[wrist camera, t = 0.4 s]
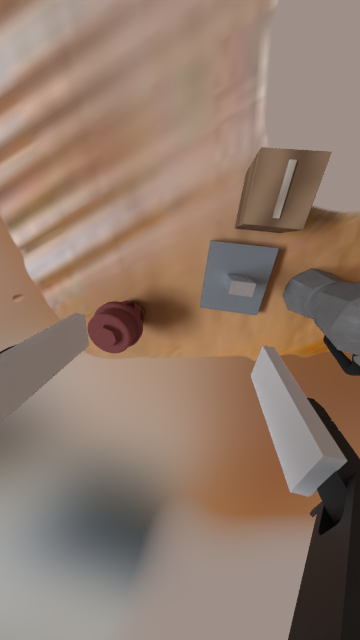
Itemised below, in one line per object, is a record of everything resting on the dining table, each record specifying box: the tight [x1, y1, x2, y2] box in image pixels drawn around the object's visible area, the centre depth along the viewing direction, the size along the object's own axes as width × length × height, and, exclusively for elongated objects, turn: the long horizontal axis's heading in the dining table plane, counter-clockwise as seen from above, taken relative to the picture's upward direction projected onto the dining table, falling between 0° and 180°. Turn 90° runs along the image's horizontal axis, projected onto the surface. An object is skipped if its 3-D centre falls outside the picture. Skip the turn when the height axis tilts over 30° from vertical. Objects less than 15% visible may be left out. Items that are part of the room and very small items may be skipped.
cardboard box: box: [235, 148, 331, 233], centre depth 25 cm, size 8×8×8 cm
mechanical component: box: [88, 301, 145, 353], centre depth 35 cm, size 12×10×10 cm
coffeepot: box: [283, 269, 360, 376], centre depth 26 cm, size 15×9×18 cm, turn 10°
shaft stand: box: [200, 241, 279, 315], centre depth 31 cm, size 13×12×8 cm
